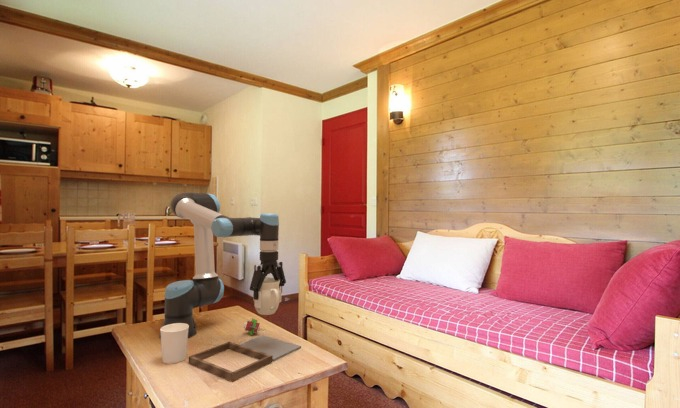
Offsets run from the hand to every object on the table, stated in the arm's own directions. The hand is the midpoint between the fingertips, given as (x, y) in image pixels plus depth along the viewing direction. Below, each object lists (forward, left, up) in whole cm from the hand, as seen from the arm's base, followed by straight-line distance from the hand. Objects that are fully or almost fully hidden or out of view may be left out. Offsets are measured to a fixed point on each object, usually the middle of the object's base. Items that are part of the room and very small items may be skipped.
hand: (268, 304), depth 147 cm
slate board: (0, 0, -18) cm, 18 cm away
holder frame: (-1, -18, -18) cm, 25 cm away
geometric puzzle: (-18, +8, -18) cm, 27 cm away
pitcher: (0, 0, -4) cm, 4 cm away
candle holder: (-21, -28, -18) cm, 39 cm away
